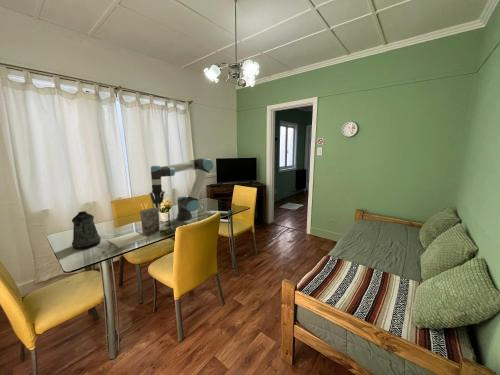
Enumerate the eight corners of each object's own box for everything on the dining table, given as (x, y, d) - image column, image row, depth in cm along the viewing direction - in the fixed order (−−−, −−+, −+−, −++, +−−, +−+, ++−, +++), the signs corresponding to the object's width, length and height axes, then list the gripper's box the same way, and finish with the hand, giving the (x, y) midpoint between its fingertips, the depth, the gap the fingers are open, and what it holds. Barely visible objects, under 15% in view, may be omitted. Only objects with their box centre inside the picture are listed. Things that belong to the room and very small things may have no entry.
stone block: (146, 235, 169) (144, 211, 166) (141, 233, 173) (139, 210, 169) (160, 230, 180) (159, 208, 177) (156, 229, 184) (154, 207, 180)
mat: (137, 232, 176) (137, 231, 176) (149, 237, 165) (149, 237, 165) (107, 240, 159) (107, 240, 159) (119, 247, 147) (118, 246, 147)
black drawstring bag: (97, 238, 163) (93, 207, 159) (105, 245, 151) (101, 212, 147) (69, 245, 150) (64, 212, 146) (76, 253, 138) (71, 217, 134)
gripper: (161, 182, 183) (163, 208, 187) (146, 184, 173) (148, 212, 177) (166, 183, 179) (167, 210, 183) (151, 185, 168) (153, 213, 172)
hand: (158, 211), depth 180 cm, fingers closed
